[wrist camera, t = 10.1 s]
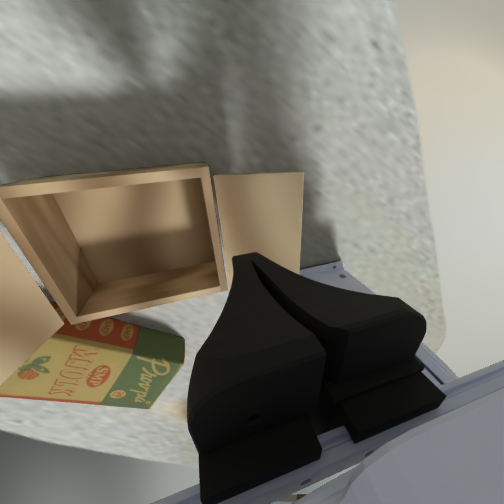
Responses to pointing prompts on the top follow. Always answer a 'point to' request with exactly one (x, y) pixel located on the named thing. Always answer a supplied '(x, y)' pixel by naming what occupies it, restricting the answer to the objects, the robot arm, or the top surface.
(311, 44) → the top surface
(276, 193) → the flap
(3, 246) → the flap
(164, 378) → the carton
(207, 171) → the cardboard box
